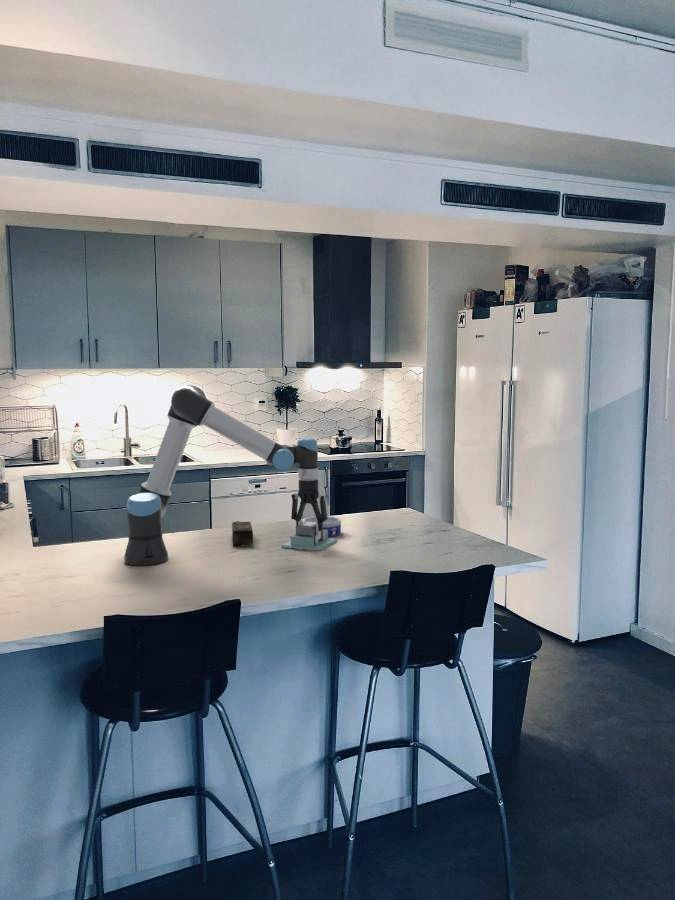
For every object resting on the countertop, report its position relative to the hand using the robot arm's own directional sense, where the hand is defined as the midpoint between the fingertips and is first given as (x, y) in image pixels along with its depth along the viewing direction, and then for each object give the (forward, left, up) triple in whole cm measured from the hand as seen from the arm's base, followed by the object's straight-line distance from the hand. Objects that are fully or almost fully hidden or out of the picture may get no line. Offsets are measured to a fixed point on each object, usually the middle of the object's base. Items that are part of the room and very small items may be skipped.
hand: (309, 538), depth 278 cm
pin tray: (0, 0, -2) cm, 2 cm away
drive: (0, 0, -1) cm, 1 cm away
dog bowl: (-3, +19, -3) cm, 19 cm away
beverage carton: (-28, -3, -3) cm, 28 cm away
